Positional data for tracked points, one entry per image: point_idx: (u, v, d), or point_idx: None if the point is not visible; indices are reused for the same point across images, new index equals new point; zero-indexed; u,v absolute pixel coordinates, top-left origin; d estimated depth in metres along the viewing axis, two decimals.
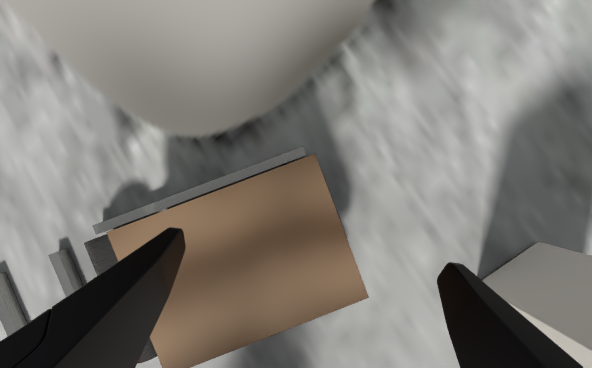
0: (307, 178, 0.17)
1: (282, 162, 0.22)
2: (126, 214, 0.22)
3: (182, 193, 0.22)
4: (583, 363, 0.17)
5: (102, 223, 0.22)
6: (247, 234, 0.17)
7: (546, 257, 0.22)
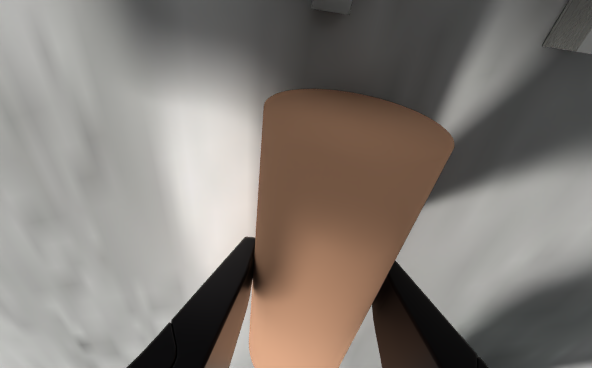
0: None
1: None
2: None
3: None
4: None
5: None
6: None
7: None
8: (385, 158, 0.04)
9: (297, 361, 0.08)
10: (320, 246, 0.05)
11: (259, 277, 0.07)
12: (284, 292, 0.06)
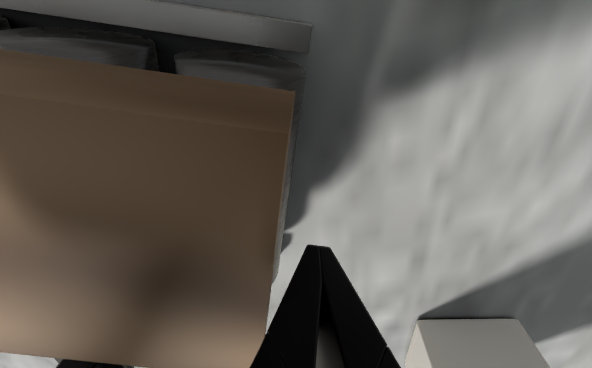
0: (228, 190, 0.05)
1: (244, 40, 0.09)
2: None
3: None
4: None
5: None
6: (13, 233, 0.06)
7: (513, 349, 0.17)
8: None
9: None
10: None
11: None
12: None
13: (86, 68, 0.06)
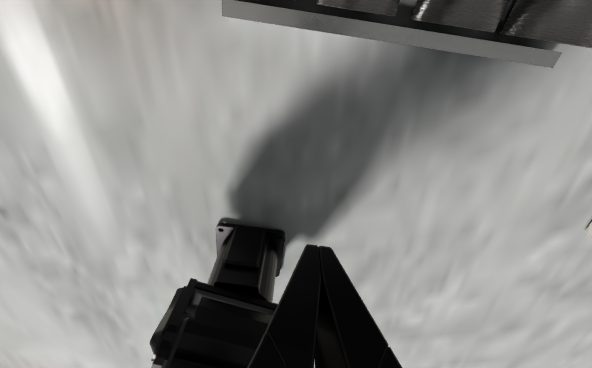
0: None
1: None
2: None
3: None
4: None
5: None
6: None
7: None
8: None
9: None
10: None
11: None
12: None
13: None
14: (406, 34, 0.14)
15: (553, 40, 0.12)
